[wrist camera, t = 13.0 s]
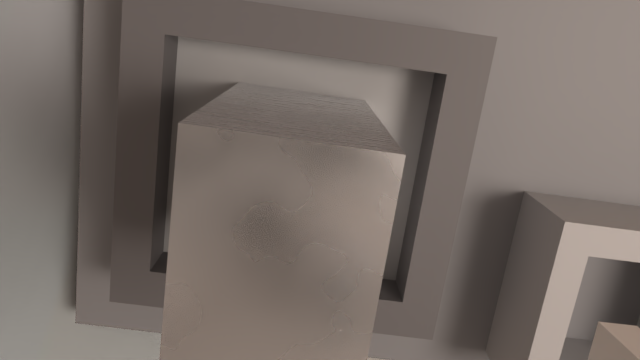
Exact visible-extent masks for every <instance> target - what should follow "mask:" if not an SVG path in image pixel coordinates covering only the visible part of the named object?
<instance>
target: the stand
mask: <svg viewBox="0 0 640 360" xmlns="http://www.w3.org/2000/svg"><path fill="white" fill-rule="evenodd" d="M239 82H241V83H248V84H255V85H262V86H268V87H275V88H282V89H289V90H296V91H303V92H310V93H317V94H324V95H331V96H338V97H345V98H351V99H358V100H365V101H366V102H367V103H368V105H369V106H370V107H371V109H372V110H373V112H374V113H375V114H376V116H377V117H378V118H379V120H380V121H381V122H382V124H383V125H384V126H385V128H386V129H387V130H388V132H389V133H390V134H391V136H392V137H393V138H394V140H395V141H396V142H397V144H398V145H399V146H400V148H401V149H402V150H403V152H404V153H405V154H406V158H405V163H404V168H403V173H402V179H401V184H400V189H399V195H398V200H397V205H396V210H395V216H394V221H393V226H392V231H391V237H390V242H389V247H388V253H387V258H386V263H385V268H384V274H383V279H382V284H381V290H380V295H379V300H378V305H377V311H376V316H375V321H374V327H373V332H372V337H371V342H370V348H369V353H368V357H371V358H379V359H388V360H588V356H589V353H590V349H591V346H592V342H593V339H594V335H595V332H596V328H597V325H598V322H607V323H616V324H625V325H634V326H638V327H639V328H640V0H84V17H83V55H82V93H81V132H80V170H79V208H78V246H77V284H76V322H75V323H80V324H88V325H97V326H105V327H114V328H122V329H131V330H139V331H148V332H157V333H162V322H163V309H164V296H165V284H166V271H167V258H168V246H169V233H170V220H171V208H172V195H173V182H174V169H175V157H176V144H177V131H178V123H179V122H180V121H182V120H183V119H185V118H186V117H188V116H189V115H191V114H192V113H194V112H195V111H197V110H198V109H200V108H201V107H203V106H204V105H206V104H207V103H209V102H210V101H212V100H213V99H215V98H216V97H218V96H219V95H221V94H222V93H224V92H225V91H227V90H228V89H230V88H231V87H233V86H234V85H236V84H237V83H239Z"/></svg>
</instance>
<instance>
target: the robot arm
mask: <svg viewBox="0 0 640 360" xmlns="http://www.w3.org/2000/svg"><path fill="white" fill-rule="evenodd" d="M588 360H640V328H639V327H638V326H634V325H625V324H616V323H607V322H598V325H597V328H596V332H595V335H594V339H593V342H592V346H591V349H590V353H589V356H588Z"/></svg>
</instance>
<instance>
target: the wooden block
mask: <svg viewBox="0 0 640 360" xmlns="http://www.w3.org/2000/svg"><path fill="white" fill-rule="evenodd" d="M405 158H406V154H405V153H404V152H403V150H402V149H401V148H400V146H399V145H398V144H397V142H396V141H395V140H394V138H393V137H392V136H391V134H390V133H389V132H388V130H387V129H386V128H385V126H384V125H383V124H382V122H381V121H380V120H379V118H378V117H377V116H376V114H375V113H374V112H373V110H372V109H371V107H370V106H369V105H368V103H367V102H366V101H365V100H358V99H351V98H345V97H338V96H331V95H324V94H317V93H310V92H303V91H296V90H289V89H282V88H275V87H268V86H262V85H255V84H248V83H241V82H239V83H237V84H236V85H234V86H233V87H231V88H230V89H228V90H227V91H225V92H224V93H222V94H221V95H219V96H218V97H216V98H215V99H213V100H212V101H210V102H209V103H207V104H206V105H204V106H203V107H201V108H200V109H198V110H197V111H195V112H194V113H192V114H191V115H189V116H188V117H186V118H185V119H183V120H182V121H180V122H179V123H178V131H177V144H176V157H175V169H174V182H173V195H172V208H171V220H170V233H169V246H168V258H167V271H166V284H165V296H164V309H163V322H162V335H161V347H160V360H367V358H368V353H369V348H370V342H371V337H372V332H373V327H374V321H375V316H376V311H377V305H378V300H379V295H380V290H381V284H382V279H383V274H384V268H385V263H386V258H387V253H388V247H389V242H390V237H391V231H392V226H393V221H394V216H395V210H396V205H397V200H398V195H399V189H400V184H401V179H402V173H403V168H404V163H405Z"/></svg>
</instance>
